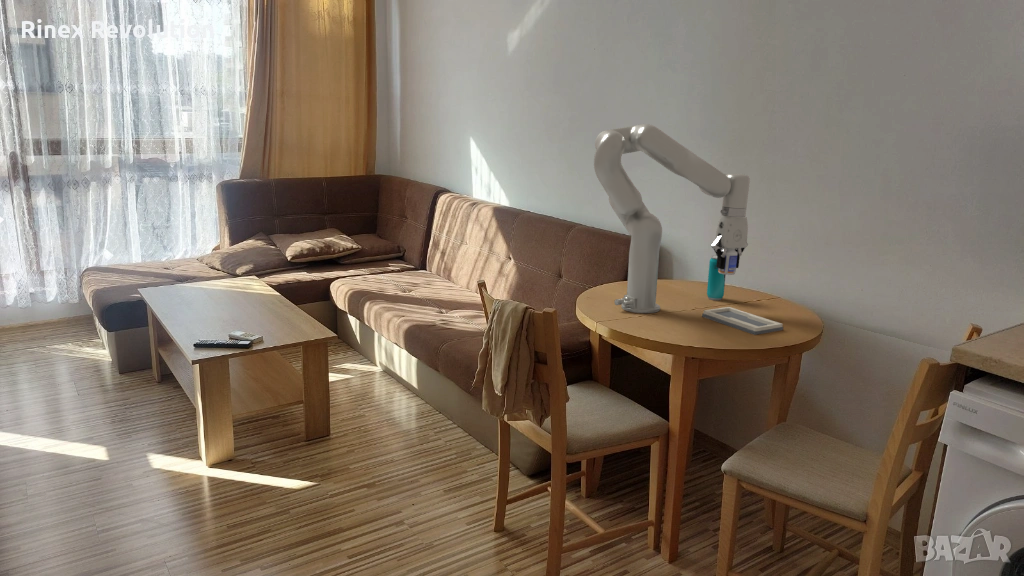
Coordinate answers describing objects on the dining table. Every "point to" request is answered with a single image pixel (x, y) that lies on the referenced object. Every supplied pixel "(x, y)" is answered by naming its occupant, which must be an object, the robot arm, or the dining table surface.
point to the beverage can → (715, 281)
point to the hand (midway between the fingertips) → (727, 267)
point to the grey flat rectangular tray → (742, 320)
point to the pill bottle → (729, 262)
